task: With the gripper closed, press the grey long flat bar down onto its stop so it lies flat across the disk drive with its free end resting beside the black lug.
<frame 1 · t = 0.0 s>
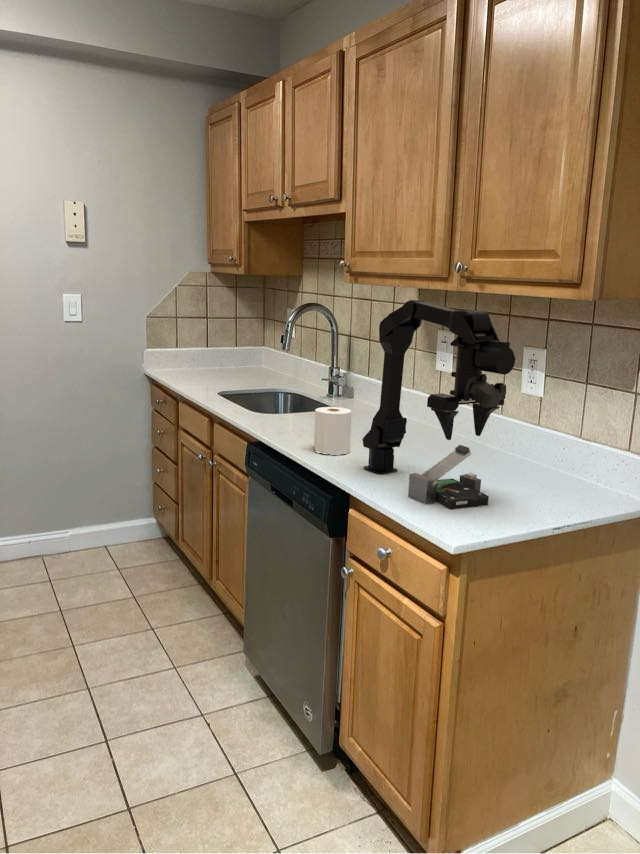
hand: (463, 437, 159), 15 cm above the counter, tool pointing down, fingers open, 9 cm apart
hinge bracket: (419, 500, 161), on the counter
lug: (469, 490, 170), on the counter
grey long flat bar: (445, 463, 164), point 8 cm above the counter, hinge at 25.0°
toilet paper: (331, 452, 203), on the counter
disk drive: (451, 500, 164), on the counter
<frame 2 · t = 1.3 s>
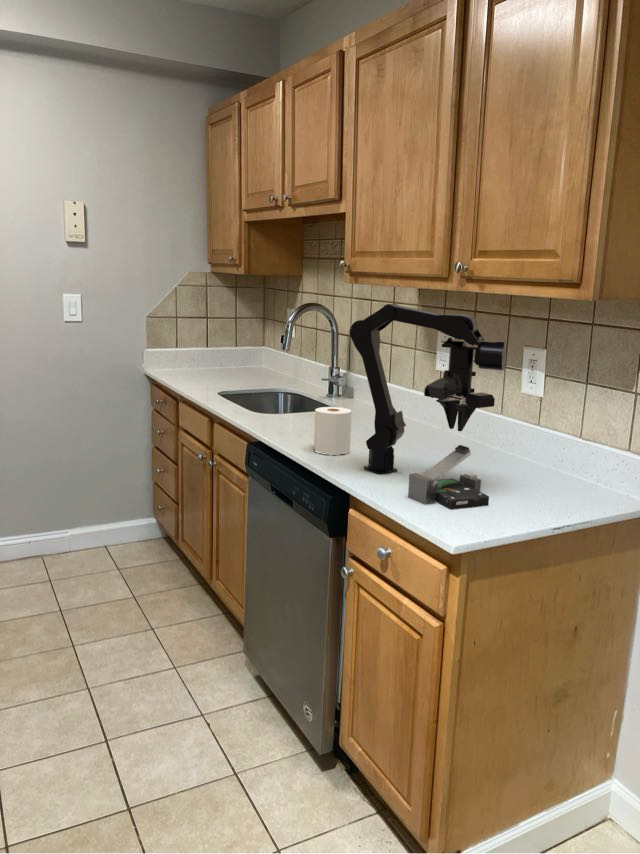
hand: (455, 429, 175), 13 cm above the counter, tool pointing down, fingers open, 3 cm apart
nothing on the counter moved.
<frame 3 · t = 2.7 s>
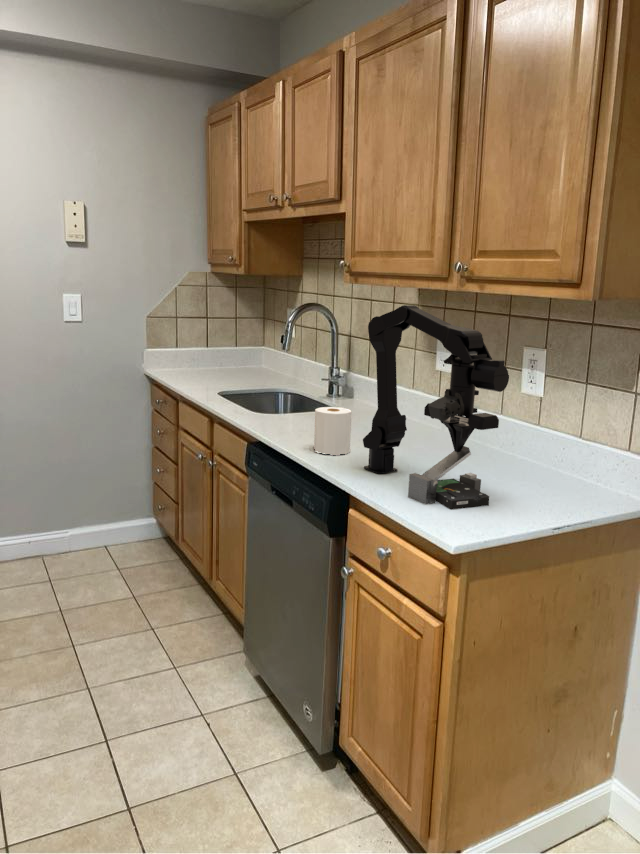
hand: (457, 451, 165), 10 cm above the counter, tool pointing down, fingers closed, pressing on grey long flat bar
grey long flat bar: (445, 463, 164), point 8 cm above the counter, hinge at 24.9°, touching gripper
everything else where it was.
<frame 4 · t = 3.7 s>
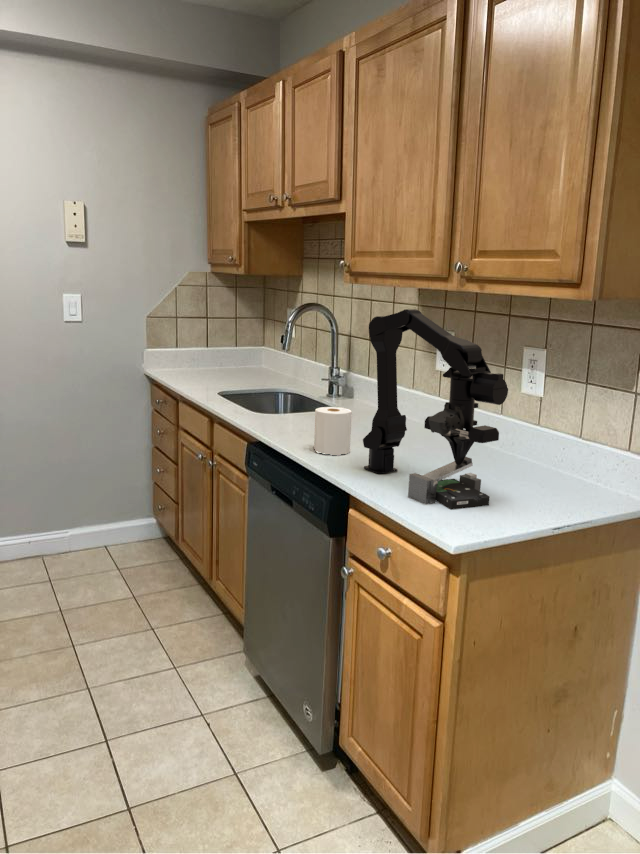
hand: (458, 464, 166), 7 cm above the counter, tool pointing down, fingers closed, pressing on grey long flat bar
grey long flat bar: (446, 469, 164), point 6 cm above the counter, hinge at 11.9°, touching gripper
everything else where it was.
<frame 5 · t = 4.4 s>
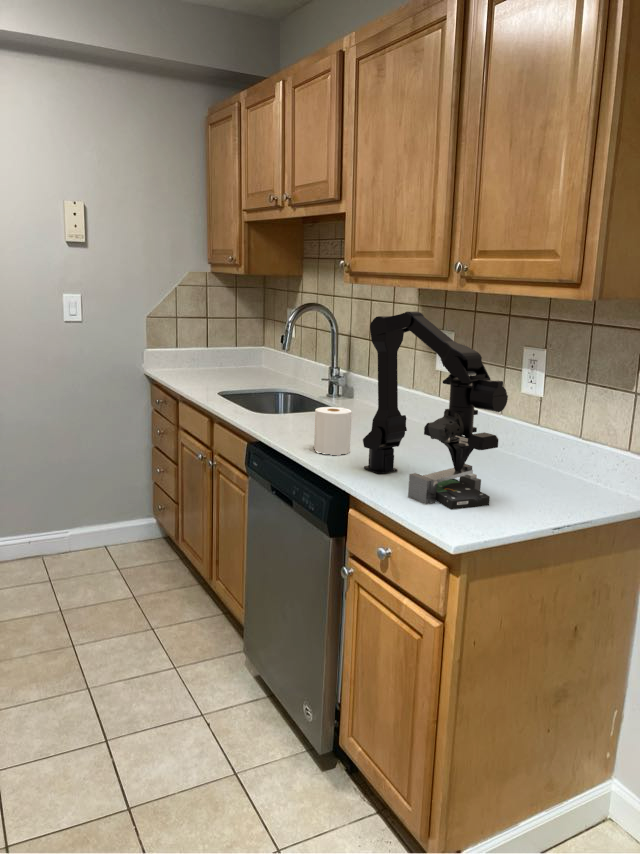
hand: (457, 470, 166), 5 cm above the counter, tool pointing down, fingers closed, pressing on grey long flat bar
grey long flat bar: (447, 473, 165), point 5 cm above the counter, hinge at 3.7°, touching gripper
everything else where it was.
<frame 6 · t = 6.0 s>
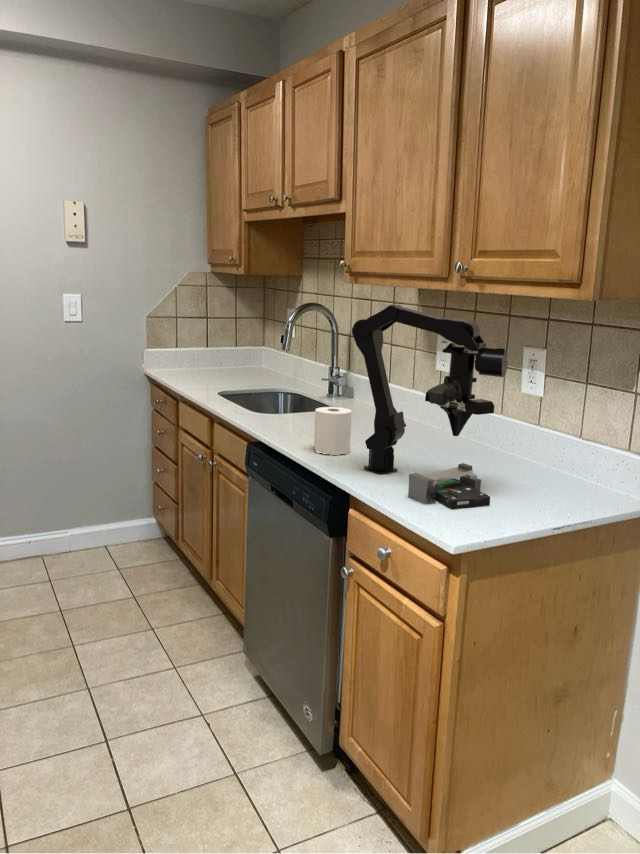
hand: (455, 435, 174), 12 cm above the counter, tool pointing down, fingers closed
grey long flat bar: (447, 473, 165), point 5 cm above the counter, hinge at 3.6°
everything else where it was.
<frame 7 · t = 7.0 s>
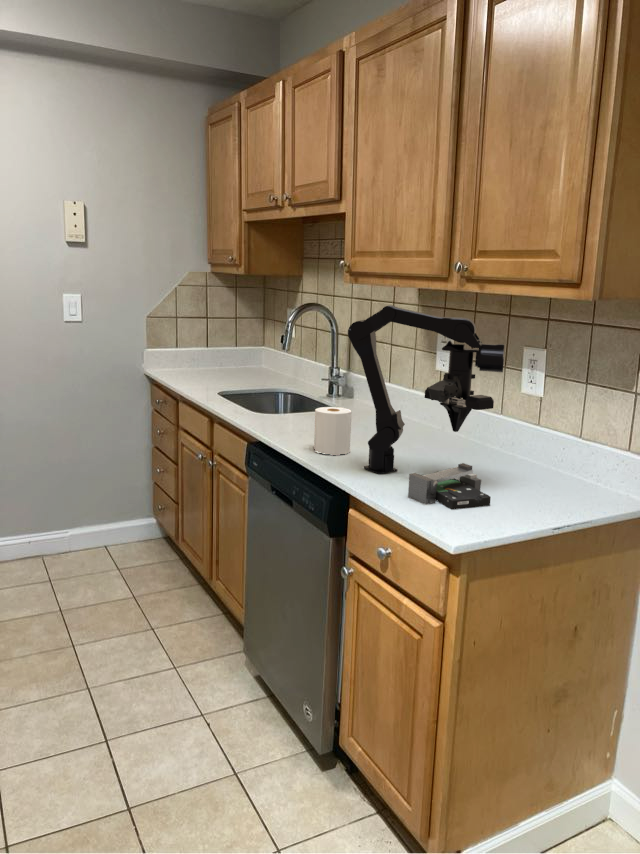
hand: (455, 431, 178), 12 cm above the counter, tool pointing down, fingers closed
nothing on the counter moved.
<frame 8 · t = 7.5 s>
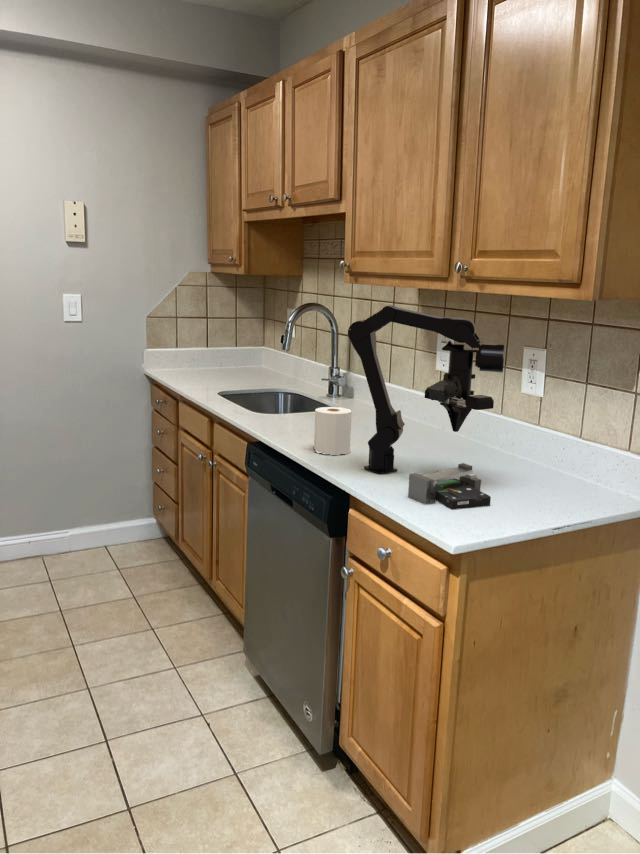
hand: (455, 431, 178), 12 cm above the counter, tool pointing down, fingers closed
nothing on the counter moved.
at the end: grey long flat bar at +4° (first picture: +25°); disk drive moved 0.9 cm from its start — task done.
